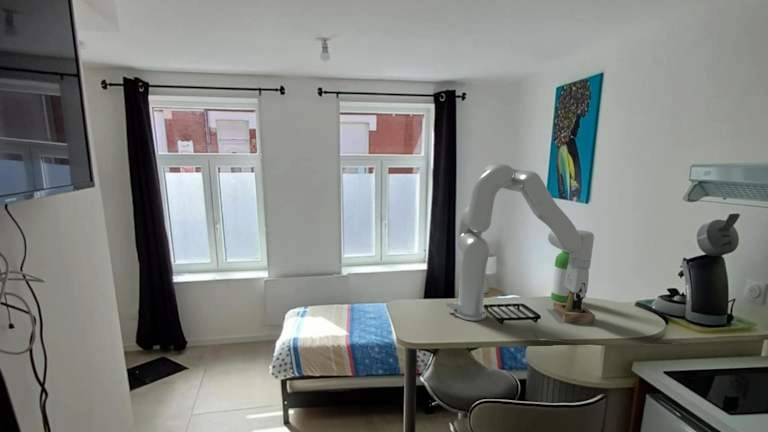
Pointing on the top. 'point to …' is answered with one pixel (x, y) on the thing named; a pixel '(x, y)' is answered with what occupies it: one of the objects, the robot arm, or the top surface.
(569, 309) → the cork
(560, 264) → the wine bottle
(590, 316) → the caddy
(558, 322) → the mat
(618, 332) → the top surface
